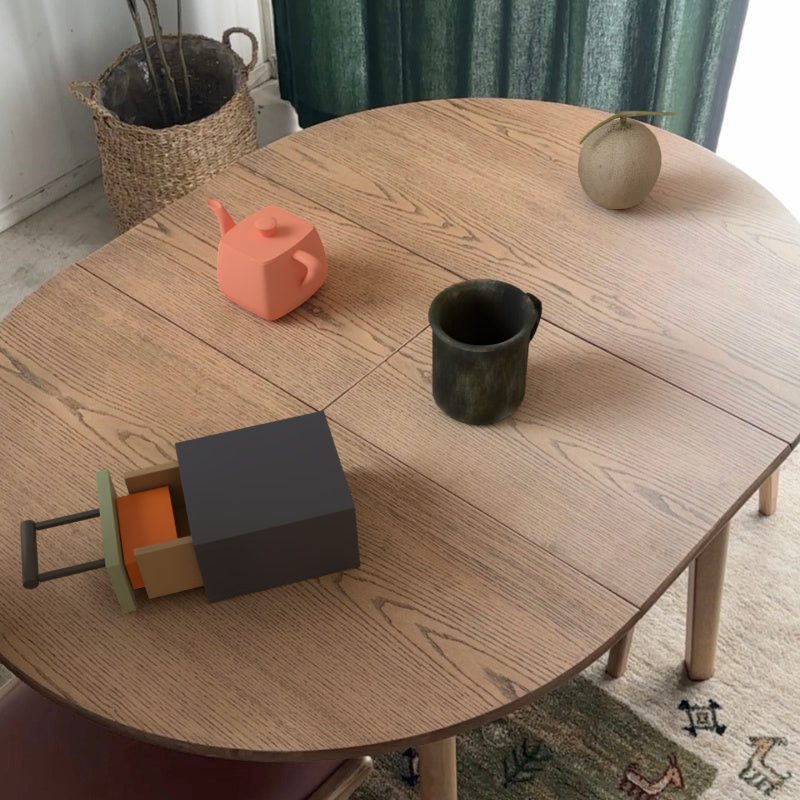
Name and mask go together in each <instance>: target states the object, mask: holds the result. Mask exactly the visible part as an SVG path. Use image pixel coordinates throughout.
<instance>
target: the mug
mask: <svg viewBox="0 0 800 800" xmlns="http://www.w3.org/2000/svg"><path fill="white" fill-rule="evenodd" d="M542 313H543V302H542V300H541V299H540V298H538V297H537V296H536V295H535V294H532V293H531V292H529V291H527V292H525V291H523V290H522V289H521V288H519V287H517V286H516V285H514V284H511V283H509V282H506V281H503V280H498V279H494V278H493V279H492V278H472V279H466V280H463V281H459V282H456V283H454V284H450V285H449V286H448V287H445V288H444V289H443V290H441V291H440V292H439V293H438V294H436V296H435V297H434V298H433V300H432V301H431V302H430V305H429V308H428V313H427V318H428V319H427V321H428V323H429V326H430V329H431V339H432V340H431V345H432V346H431V349H432V350H431V351H432V352H431V358H432V359H431V368H432V369H431V382H432V383H431V384H432V385H431V388H432V389H431V391H432V398H433V400H434V403H435V404H436V406H437V407H438V408H439V410H440V411H441V412H443V413H444V414H445V415H446V416H447V417H449V418H451V419H452V420H455V421H456V422H460V423H463V424H468V425H474V426H475V425H476V426H477V425H478V426H479V425H489V424H494V423H497V422H499V421H502V420H504V419H506V418H508V417H509V416H511V415H512V414H513V413H514V412H515V411H517V410H518V408H519V407H520V406H521V404H522V402H523V401H524V398H525V395H526V383H527V374H528V373H527V372H528V362H529V361H528V360H529V350H530V343H531V341H533V339H534V337H535V335H536V333H537V331H538V328H539V325H540V323H541V318H542Z"/></svg>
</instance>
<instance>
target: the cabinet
mask: <svg viewBox="0 0 800 800" xmlns="http://www.w3.org/2000/svg"><path fill="white" fill-rule="evenodd" d="M174 448H175V453H176V459H177V460H176V461H178V465H179V471H180V476H181V482H182V487H183V493H184V498H185V504H186V509H187V515H188V520H189V526H190V531H191V537H192V542H193V547H194V550H195V554H196V558H197V562H198V565H199V569H200V572H201V576H202V580H203V583H204V590H205V595H206V598H207V601H208V604H214V603H217V602H222V601H226V600H230V599H234V598H238V597H241V596H246V595H250V594H255V593H259V592H262V591H266V590H270V589H274V588H279V587H282V586H286V585H290V584H295V583H299V582H303V581H308V580H310V579H314V578H318V577H323V576H326V575H331V574H335V573H338V572H343V571H347V570H351V569H355V568H360V567H361V559H360V548H359V546H360V545H359V537H358V536H359V535H358V524H357V523H358V522H357V513H356V505H355V502H354V499H353V497H352V494H351V493H352V492H351V489H350V487H349V484H348V481H347V478H346V474H345V471H344V468H343V466H342V462H341V459H340V457H339V454H338V453H339V452H338V451H337V450H338V449H337V447H336V444H335V441H334V437H333V435H332V432H331V428H330V425H329V423H328V418H327V416H326V413H325V411H324V410H319V411H315V412H310V413H304V414H301V415H296V416H291V417H287V418H282V419H278V420H274V421H268V422H264V423H259V424H255V425H250V426H246V427H242V428H237V429H232V430H228V431H227V430H226V431H223V432H219V433H214V434H209V435H204V436H200V437H196V438H191V439H187V440H182V441H178V442H174Z"/></svg>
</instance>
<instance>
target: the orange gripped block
mask: <svg viewBox="0 0 800 800" xmlns="http://www.w3.org/2000/svg"><path fill="white" fill-rule="evenodd" d="M116 504H117V512H118V519H119V527H120V534H121V542H122V549H123V557H124V564H125V567H126V570H127V573H128V575H129V578H130V581H131V584H132V586H133V589H134V590H136V589H140V588H145V585H144V582H143V580H142V577H141V574H140V571H139V568H138V565H137V562H136V559H135V556H134V549H136V548H140V547H144V546H149V545H153V544H157V543H161V542H166V541H170V540H174V539H178V538H180V533H179V528H178V522H177V517H176V511H175V508H174V504H173V501H172V497H171V494H170V490H169V487H168V486H165V487H161V488H156V489H152V490H148V491H143V492H139V493H135V494H130V495H129V494H127V495H121V496H117V498H116Z"/></svg>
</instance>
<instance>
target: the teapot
mask: <svg viewBox="0 0 800 800" xmlns="http://www.w3.org/2000/svg"><path fill="white" fill-rule="evenodd" d="M206 205H207V206H208V207H209V208H210V209H211V210H212V212H213V213H214V214H215V216H216V219H217V221H218V226H219V230H220V231H219V232H220V236H221V238H220V240H219V244H218V250H217V258H216V279H217V284H218V287H219V289H220V291H221V293H222V294H223V295H224V297H225V298H226V299H228V300H229V301H230V302H232V303H233V304H236V305H237V306H239V307H240V308H242V309H244V310H246V311H247V312H249V313H251V314H253V315H255V316H257V317H258V318H262V319H263V320H266V321H275V320H278V319H280V318H282V317H284V316H286V315H287V314H289V313H290V312H292V311H294V310H295V309H297V308H298V307H300V306H301V305H302V304H304V303H305V302H306V301H308V300H309V299H310V298H311V297H312V296H313V295H314V294H315V293H316V292H317V291H319V289H321V287H322V286H323V285H324V284H325V281H326V279H327V277H328V272H329V265H328V264H329V263H328V259H327V255H326V251H325V247H324V244H323V242H322V239H321V237H320V234H319V232H318V230H317V228H316V226H315V225H314V224H312V223H311V222H309V221H307V220H306V219H303V218H302V217H300V216H297V215H295V214H294V213H292V212H290V211H287V210H285V209H282V208H280V207H278V206H276V205H268V206H265V207H263V208H261V209H259V210H257V211H255V212H254V213H253V214H250V215H249V216H247V217H245V218H244V219H243V220H241V221H240V222H238V223H237V224H236V222H235V221H234V219H233V217H232V216H231V214H230V213H229V212H228V210H227V209H226V208H225V207H224V205H223V204H221V202H219V201H217V200H215V199H211V198H209V199H207V200H206Z"/></svg>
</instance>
